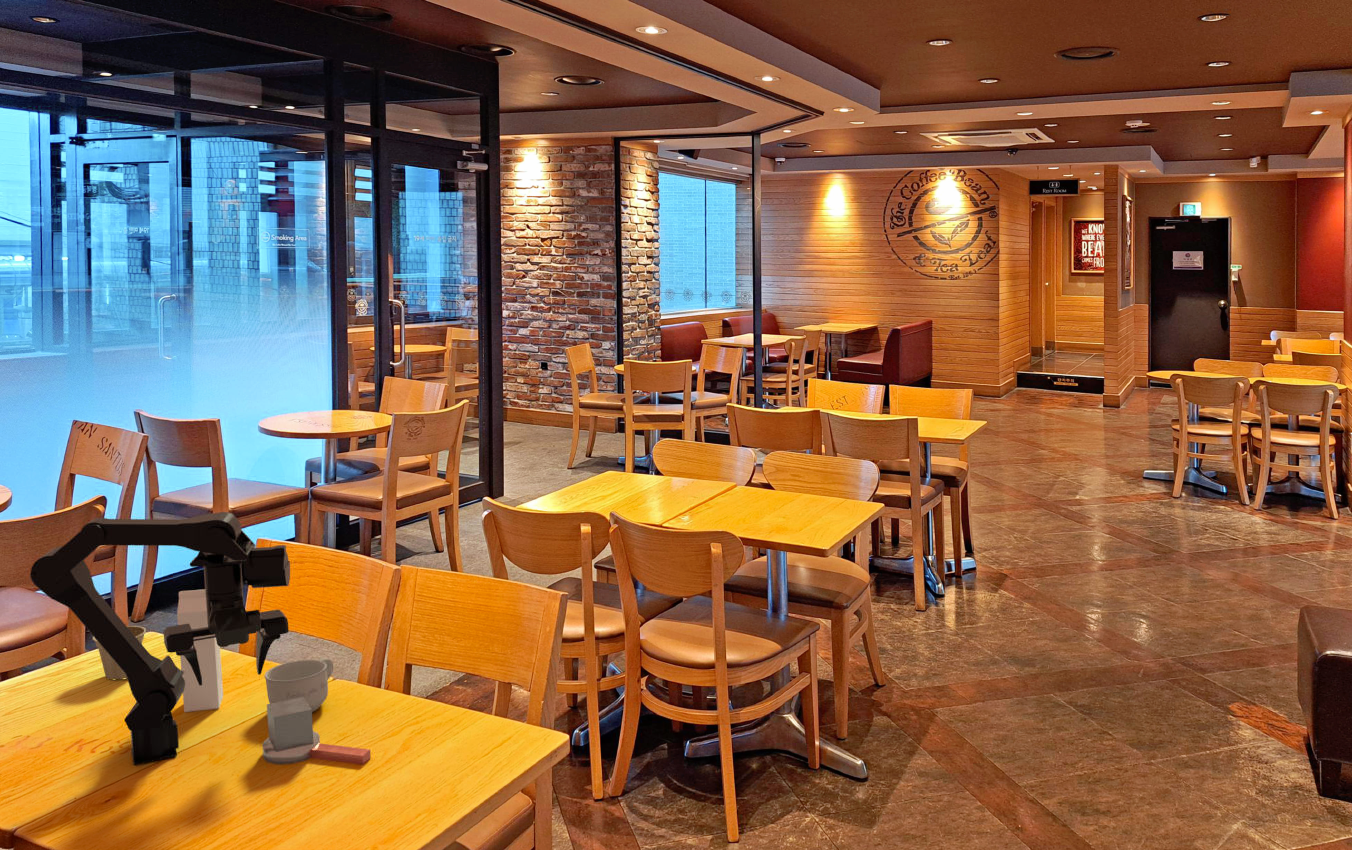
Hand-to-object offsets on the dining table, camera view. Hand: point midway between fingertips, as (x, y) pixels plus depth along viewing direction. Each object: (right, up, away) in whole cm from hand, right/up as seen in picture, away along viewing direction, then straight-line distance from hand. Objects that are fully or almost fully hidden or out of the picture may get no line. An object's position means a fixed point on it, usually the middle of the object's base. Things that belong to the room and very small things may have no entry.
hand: (230, 679), depth 180 cm
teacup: (+6, -10, +18) cm, 22 cm away
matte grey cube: (+10, -10, 0) cm, 15 cm away
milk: (-13, -10, +20) cm, 25 cm away
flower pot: (-36, -7, +34) cm, 50 cm away
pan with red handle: (+15, -12, -1) cm, 20 cm away
